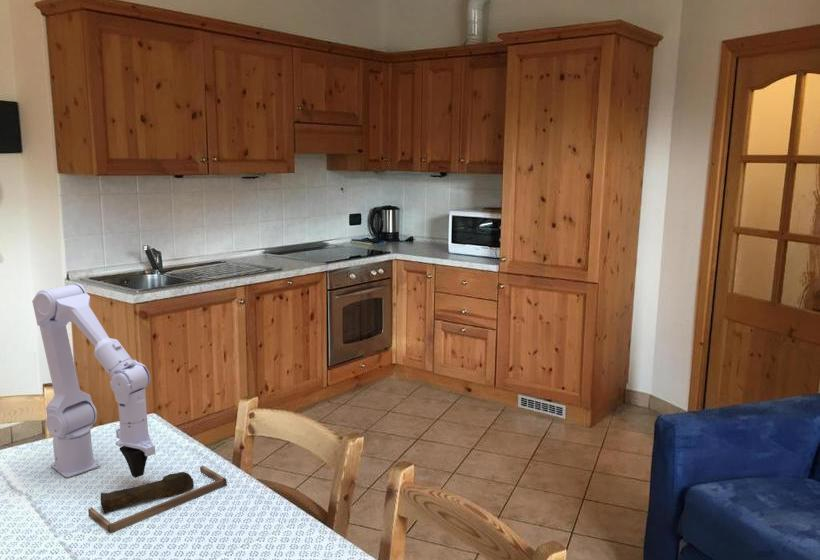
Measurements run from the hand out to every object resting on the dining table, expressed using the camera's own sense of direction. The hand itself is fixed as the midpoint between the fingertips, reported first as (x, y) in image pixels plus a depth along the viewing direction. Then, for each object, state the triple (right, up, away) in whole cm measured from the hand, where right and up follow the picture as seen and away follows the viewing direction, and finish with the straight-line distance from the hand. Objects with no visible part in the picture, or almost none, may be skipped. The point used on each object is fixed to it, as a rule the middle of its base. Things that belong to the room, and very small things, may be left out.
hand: (137, 475), depth 154 cm
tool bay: (+8, -3, -6) cm, 10 cm away
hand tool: (+5, -4, -6) cm, 8 cm away
